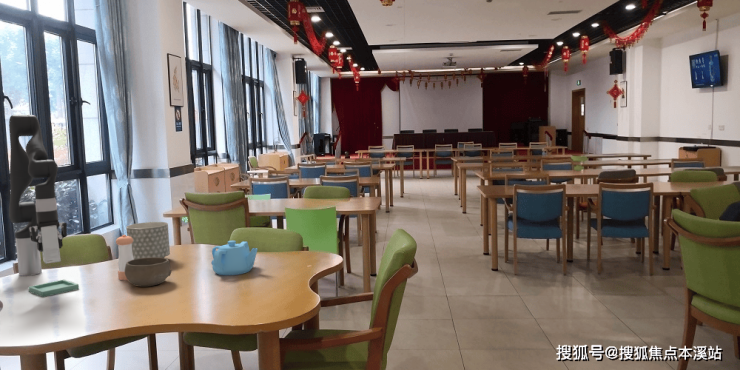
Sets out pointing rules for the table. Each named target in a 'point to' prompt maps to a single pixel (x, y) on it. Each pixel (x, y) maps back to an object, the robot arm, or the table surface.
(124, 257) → the salt shaker
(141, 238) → the planter
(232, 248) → the teapot
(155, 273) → the bowl
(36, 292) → the tray
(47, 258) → the skincare box
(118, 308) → the table surface
